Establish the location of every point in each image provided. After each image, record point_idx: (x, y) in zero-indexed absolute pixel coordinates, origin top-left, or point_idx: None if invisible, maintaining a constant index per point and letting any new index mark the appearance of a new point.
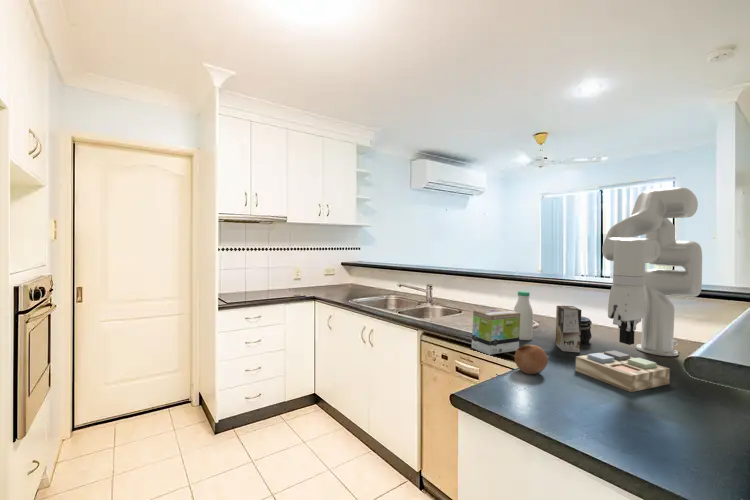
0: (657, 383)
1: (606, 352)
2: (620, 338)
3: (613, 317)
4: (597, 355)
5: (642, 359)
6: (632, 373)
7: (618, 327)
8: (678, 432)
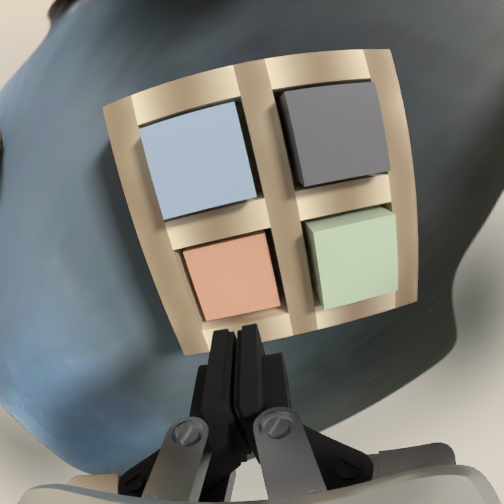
0: None
1: (290, 104)
2: (214, 352)
3: (98, 499)
4: (182, 152)
5: (385, 242)
6: (209, 339)
7: (166, 435)
8: (154, 442)
